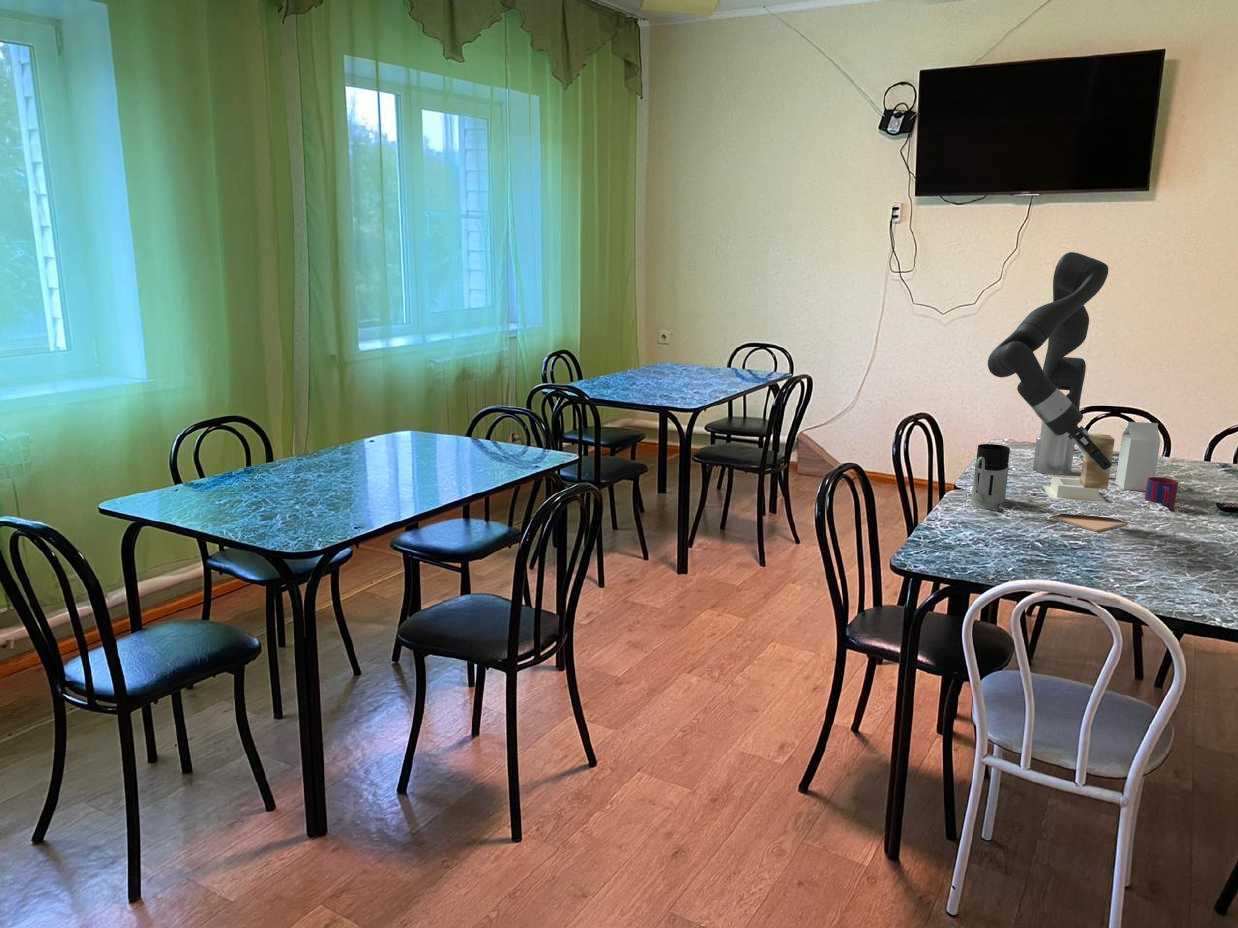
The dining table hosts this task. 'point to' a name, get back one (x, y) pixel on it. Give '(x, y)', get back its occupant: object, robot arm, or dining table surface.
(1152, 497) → the mug
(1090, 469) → the oak bar
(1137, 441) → the milk carton
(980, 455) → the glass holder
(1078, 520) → the terracotta mat
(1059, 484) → the socket stand
